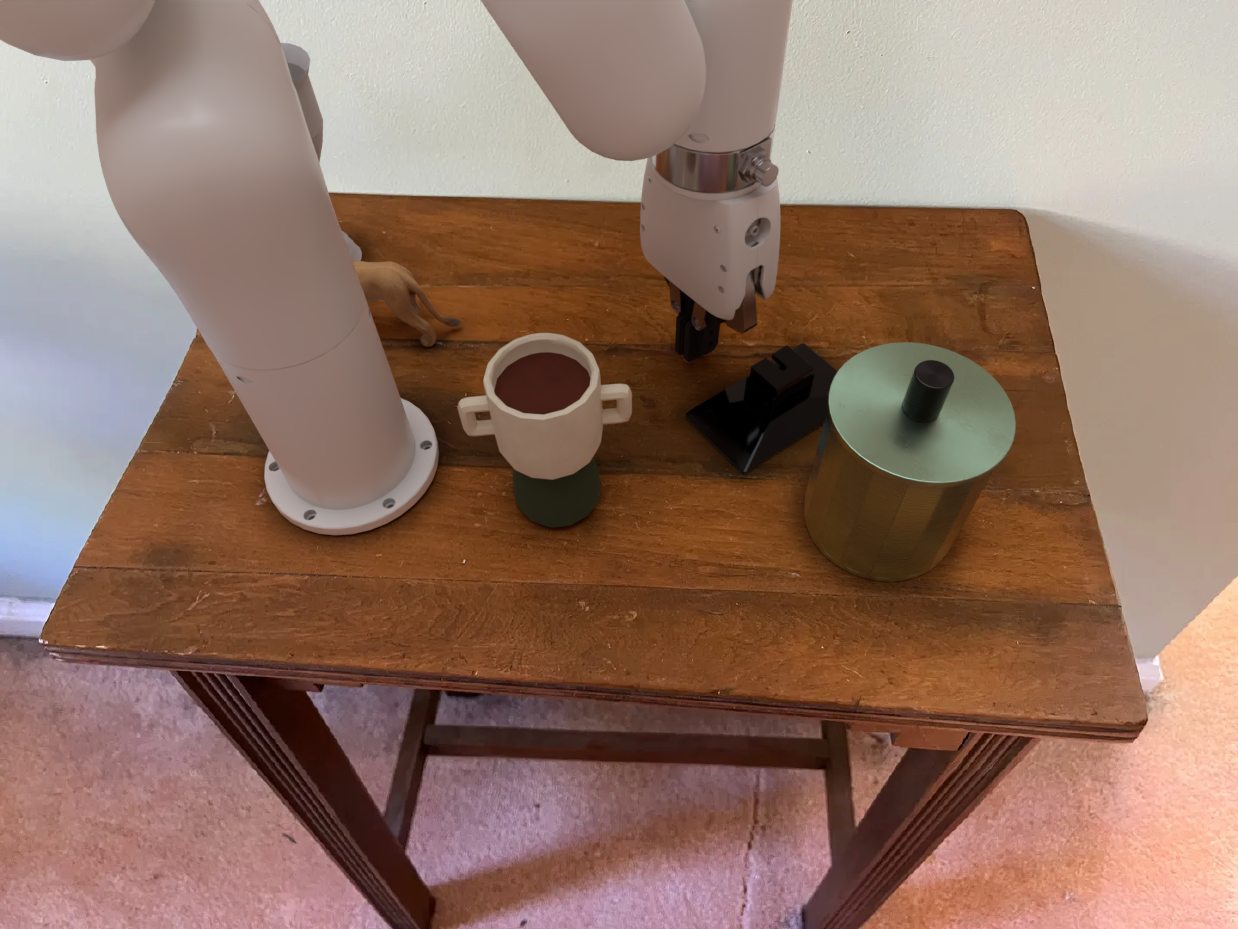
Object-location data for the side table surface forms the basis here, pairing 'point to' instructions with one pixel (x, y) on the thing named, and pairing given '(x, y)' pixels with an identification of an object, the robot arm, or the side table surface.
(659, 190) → the robot arm
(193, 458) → the side table surface
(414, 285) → the lion figurine
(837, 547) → the pot
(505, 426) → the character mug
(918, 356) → the pot lid
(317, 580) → the side table surface
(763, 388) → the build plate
